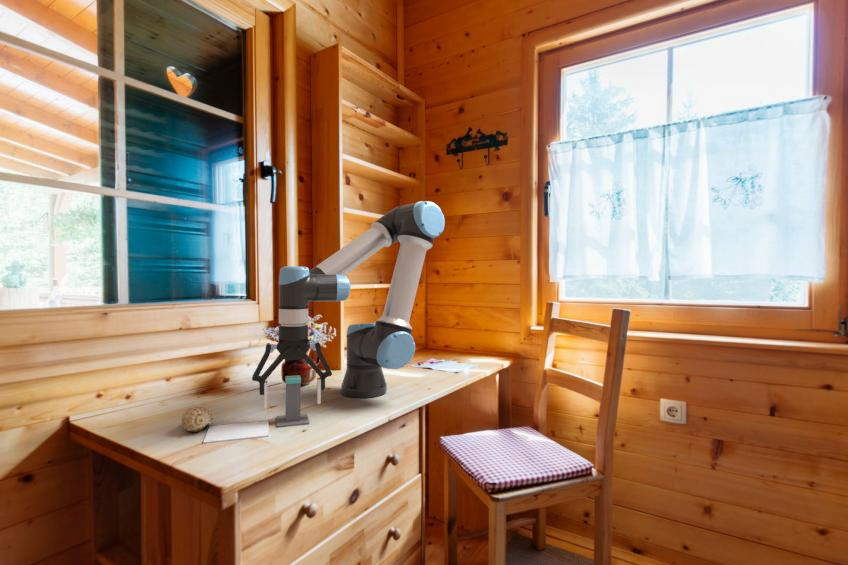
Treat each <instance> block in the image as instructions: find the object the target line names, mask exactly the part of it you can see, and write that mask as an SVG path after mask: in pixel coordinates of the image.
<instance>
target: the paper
mask: <svg viewBox="0 0 848 565" xmlns="http://www.w3.org/2000/svg"><path fill="white" fill-rule="evenodd" d="M269 428H270V427H269V420H262V421H250V422H242V423H241V422H240V423H229V424H218V425H209V426H208V430H207V432H206V433H205V436H204V439H203V443H202V444H211V443H218V442H219V443H221V442H230V441H238V440H239V441H240V440H248V439H257V438H268V437H270V436H269V434H270V433H269V431H270V430H269Z"/></svg>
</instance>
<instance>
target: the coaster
mask: <svg viewBox="0 0 848 565" xmlns="http://www.w3.org/2000/svg"><path fill="white" fill-rule="evenodd" d="M275 417H276V428H283V427H285V428H286V427H292V426H293V427H294V426H295V427H297V426H304V425H305V426H306V425H310V420H309V416H308V413H300V421H294V422H286V419H285V415H276V416H275Z"/></svg>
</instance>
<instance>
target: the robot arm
mask: <svg viewBox="0 0 848 565" xmlns="http://www.w3.org/2000/svg"><path fill="white" fill-rule="evenodd" d="M445 224H446V221H445V215H444V214H443V212H442V209H441V207H440V206H439V205H437V204H436V203H435V202H433V201H429V200H428V201H427V200H425V201H423V200H421V201H417V202H415V203H409V204H404V205H403V204H402V205H399V206H396V207H394V208H393V209H392V208H391V210H389V211H388V212H386V213H385V214H384V215H382V216H381V217H379V218H378V219H377V220H375V221H374V222H372V223H371V225H370V228H369V229H368V230H366V231H365V232H363V233H362V234H360V235H359V236H358V237H356V238H354V240H352V241H350V242H349V243H348V244H345V246H343V247H342V248H340V249H339V250H337V251H335V253H333V254H332V255H330V256H329V257H328V258H326V259H324V260H322V261H321V262H320V263H319V264H317V265H316V266H315V267H313V268H312V269H310V268H309V267H307V266H295V265H293V266H292V265H291V266H290V265H289V266H288V265H287V266H283V267H281V268H280V270H279V276H278V323H279V324H280V325H279V326H278V342H277V344H274V343H273V344H272V343H270V342H268V343H266V344H265V351H264V353H263V355H262V357H261V359H260V361H259V362H258V364H257V367H256V369H255V370H254V372H253V375H252V377H251V379H252V381H253V382H258V384H259V391H258V392H259V393H258V394H259V395H260V396H263V405H264V406H263V409H268V378H269V376H271V374H273V372H274V371H275V370H276V368H277V367H279V365H280V364H281V363H282V362H283V361H284V360H286V361H293V360H294V361H300V360H301V359H303V360H304V361H305V362H306V363H307V364H308V366H310V368H311V369H313V371H314V372H315V373H316V374H317V375H318V377H316V402H317V405H320V404H322V402H321V401H322V400H321V399H322V396H321V395H322V391H325V389H326V379H327V378H328V377H332V376H333V372H332V370H331V368H330V367H329V364H328V362H327V360H326V358H325V357H324V354H323V353H322V349H321V343H320V342H319V341H315V342H309V326H308V325H307V324H308V323H309V306H310V305H309V304H310V302H311V303H313V302H336V303H337V302H341V301H342V302H343V301H346V300H347V299H348V298H349V296H350V294H351V282H350V279H349V278H348V277H347V274H349V273H350V272H351V271H353V270H354V269H356V268H357V267H358V266H360V265H361V264H363V263H364V262H365V261H367V260H368V259H369V258H370V257H371V256H373V255H374V254H377V252H378V251H380V250H381V249H383V248H389V247H390V246H391V245H393V244H395V243H397V242H399V244H400V245H399V250H398V253H397V257H396V262H395V265H394V269H393V273H392V277H391V281H390V284H389V288H388V293H387V298H386V301H385V305H384V309H383V312H382V315H381V316H380V317H379V318H377V319H376V320H375V322H367V323H353V324H350V325H348V326H347V331H346V371H345V372H344V376H343V380H342V383H341V386H340V393H341V395H343V396H345V397H349V398H359V399H365V398H375V397H380V396H383V395H385V394H386V393H387V391H388V387H387V382H386V379H385V375H384V372H383V369H386V370H387V369H388V370H399V369H402V368H404V367H405V366H406V365H407V366H408V364H410V362H411V361H412V359H413V358H414V355H415V352H416V342H415V341H414V337H413V336H412V332H413V327H412V326H411V324H410V319H411V315H412V311H413V307H414V304H415V300H416V296H417V292H418V288H419V287H418V286H419V284H420V283H419V282H420V278H421V275H422V271H423V266H424V262H425V258H426V255H427V254H426V253H427V251H429V250H430V249H432V248H433V244H434V241H435V238H438V237H440V235H441V234H442V233H443V231H444V229H445ZM310 348H311V349H312V350H313V351H314V352H315V353H316V355H317V357H318V358H319V361H320V362H321V364H322V366H323V369H324V372H323V371H322V370H321V369H320V368H319V367H318V365H317V364H316V363H315V361H314V360H312V358H311V357H310V356H309V355H308V353H307V352H308V351H309V350H310ZM275 350H277V351H278V353H279V354H278V355H277V357H276V359H274V361H273V362H272V363H271V364H270V365H269V367H268V368H267V369H266V370H264V372H263V373H262V370H263V369H264V367H265V364H266V363H267V360H268V359H269V357H270V355H271V353H274V351H275ZM261 373H262V374H261ZM260 374H261V375H260Z"/></svg>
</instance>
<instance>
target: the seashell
mask: <svg viewBox="0 0 848 565" xmlns="http://www.w3.org/2000/svg"><path fill="white" fill-rule="evenodd" d="M212 421H213V416H212V414H211V413H210V412H209V410H206V408H205V407H201V406H200V407H199V406H195V407H194V408H189V409H188V410H186V411H185V413H184V414H183V415H182V417H181V421H180V422H181V426H183V428H184V430H186V431H187V432H192V433H196V432H200V431H201V430H203V429H205V427H206V426H207V425H213V422H212Z"/></svg>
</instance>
